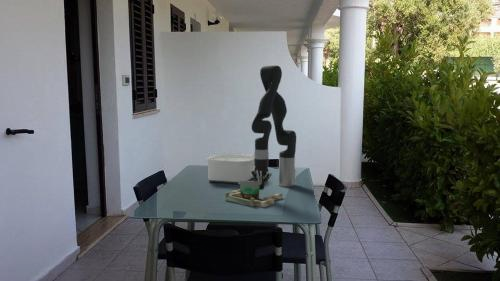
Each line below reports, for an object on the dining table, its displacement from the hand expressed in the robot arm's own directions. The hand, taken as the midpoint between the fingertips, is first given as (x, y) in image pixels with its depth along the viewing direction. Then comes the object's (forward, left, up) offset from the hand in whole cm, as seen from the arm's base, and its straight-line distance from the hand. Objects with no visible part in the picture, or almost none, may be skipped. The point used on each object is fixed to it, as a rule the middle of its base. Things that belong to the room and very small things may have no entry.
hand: (261, 189), depth 245 cm
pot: (-22, -43, -5) cm, 48 cm away
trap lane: (+6, 0, -4) cm, 7 cm away
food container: (+8, -1, -5) cm, 9 cm away
